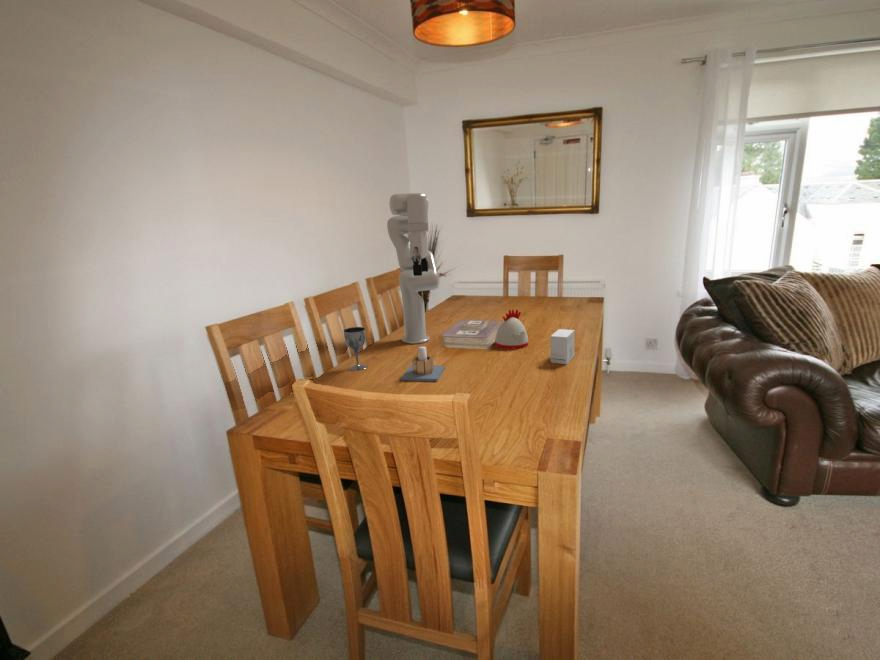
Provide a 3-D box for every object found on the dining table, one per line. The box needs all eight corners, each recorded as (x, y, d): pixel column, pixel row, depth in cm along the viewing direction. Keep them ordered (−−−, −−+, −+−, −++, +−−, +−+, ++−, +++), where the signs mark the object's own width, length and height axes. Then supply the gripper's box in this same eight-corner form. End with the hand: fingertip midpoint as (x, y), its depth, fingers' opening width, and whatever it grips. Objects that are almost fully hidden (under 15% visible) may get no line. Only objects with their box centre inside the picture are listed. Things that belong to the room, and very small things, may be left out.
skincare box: (558, 354, 181) (558, 328, 178) (574, 356, 177) (575, 329, 174) (549, 362, 172) (550, 335, 169) (566, 364, 169) (567, 337, 166)
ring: (416, 367, 170) (415, 355, 169) (435, 368, 168) (434, 355, 167) (411, 374, 163) (410, 361, 162) (430, 375, 162) (429, 361, 161)
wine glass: (348, 372, 172) (344, 333, 168) (346, 365, 179) (342, 328, 175) (369, 369, 174) (366, 330, 170) (367, 362, 181) (363, 325, 177)
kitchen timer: (534, 346, 192) (534, 310, 188) (505, 351, 187) (505, 315, 183) (517, 338, 204) (517, 304, 200) (489, 342, 200) (488, 308, 196)
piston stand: (410, 367, 174) (409, 342, 171) (444, 368, 171) (443, 342, 168) (401, 380, 161) (399, 353, 159) (437, 381, 159) (436, 353, 156)
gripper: (414, 226, 181) (417, 270, 186) (402, 229, 165) (405, 277, 170) (433, 226, 180) (435, 270, 184) (422, 228, 164) (425, 277, 168)
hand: (421, 273), depth 177 cm, fingers open, 9 cm apart
